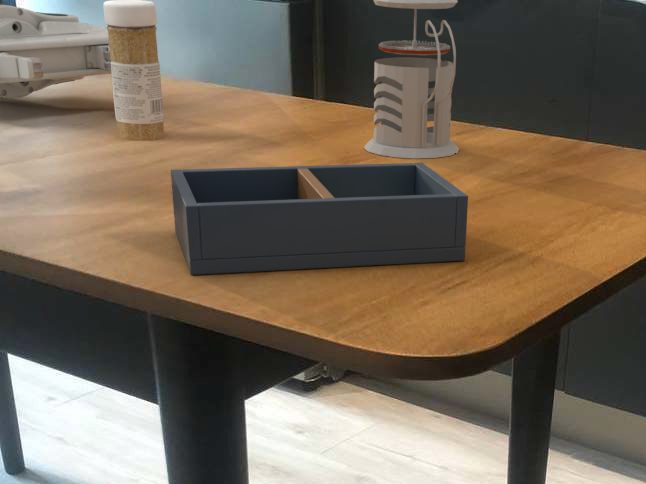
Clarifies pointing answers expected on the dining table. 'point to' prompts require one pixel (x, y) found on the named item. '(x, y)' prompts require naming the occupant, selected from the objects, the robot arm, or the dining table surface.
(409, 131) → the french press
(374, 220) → the blue-grey divided tray
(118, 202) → the dining table surface
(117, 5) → the spice jar
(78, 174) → the dining table surface
